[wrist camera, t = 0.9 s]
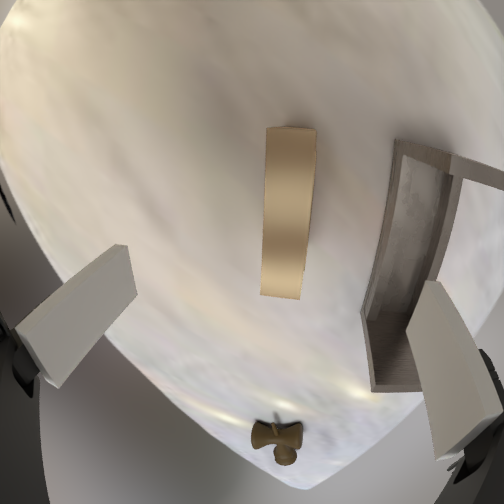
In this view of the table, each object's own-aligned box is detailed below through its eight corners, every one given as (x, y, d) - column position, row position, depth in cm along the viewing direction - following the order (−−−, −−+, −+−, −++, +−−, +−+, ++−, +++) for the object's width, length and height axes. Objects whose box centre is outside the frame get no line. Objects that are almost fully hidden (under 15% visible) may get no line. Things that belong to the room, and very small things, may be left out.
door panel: (281, 126, 24) (265, 127, 15) (315, 129, 24) (318, 131, 15) (275, 241, 30) (258, 294, 21) (305, 244, 29) (300, 300, 20)
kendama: (267, 446, 54) (249, 409, 46) (307, 446, 52) (300, 409, 43) (264, 467, 49) (243, 435, 40) (305, 468, 46) (298, 437, 38)
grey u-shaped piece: (395, 139, 22) (451, 154, 12) (453, 153, 21) (524, 180, 10) (360, 312, 31) (371, 392, 21) (410, 316, 30) (433, 390, 20)
